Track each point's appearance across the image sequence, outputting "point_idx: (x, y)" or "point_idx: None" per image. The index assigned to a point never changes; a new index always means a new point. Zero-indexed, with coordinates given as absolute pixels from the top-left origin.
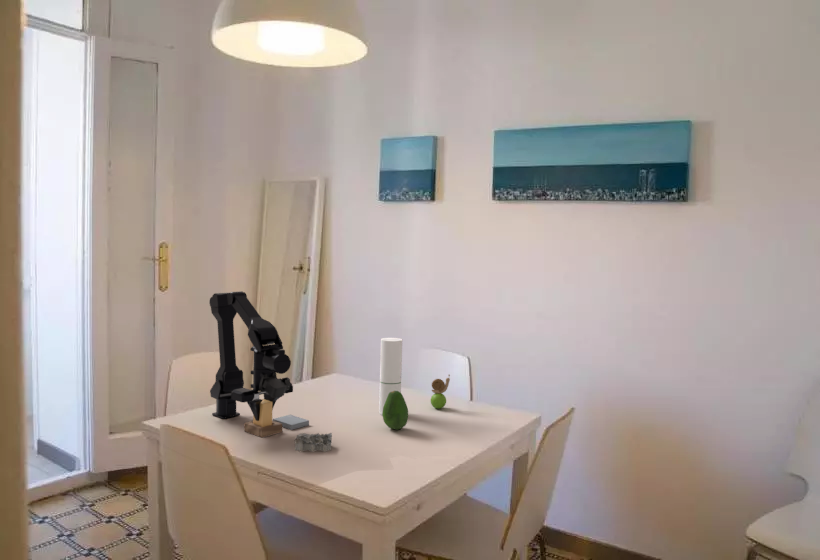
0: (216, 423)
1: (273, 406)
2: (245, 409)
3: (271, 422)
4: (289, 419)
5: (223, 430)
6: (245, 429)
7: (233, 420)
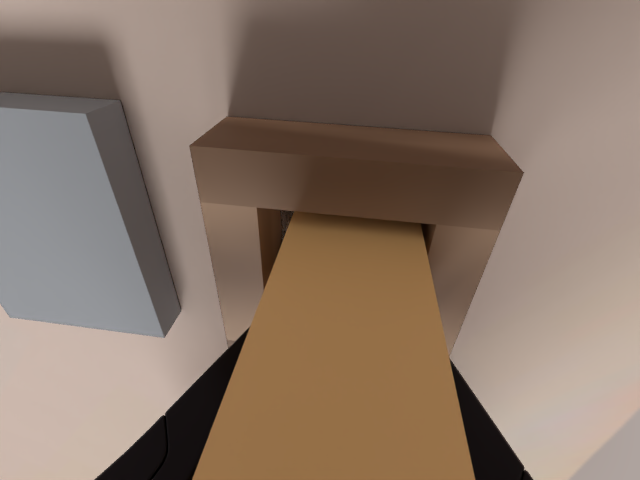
0: None
1: (155, 429)
2: None
3: (294, 237)
4: (49, 250)
5: (486, 411)
6: None
7: None
